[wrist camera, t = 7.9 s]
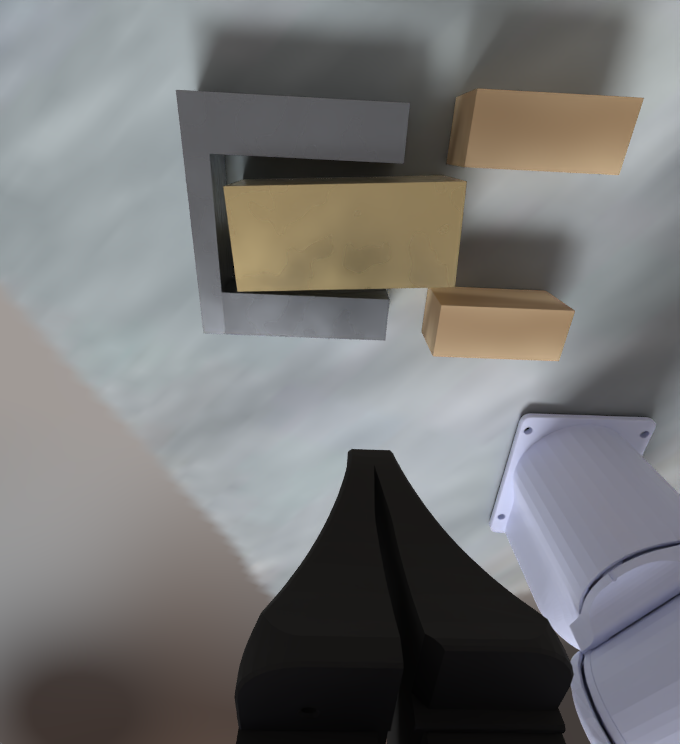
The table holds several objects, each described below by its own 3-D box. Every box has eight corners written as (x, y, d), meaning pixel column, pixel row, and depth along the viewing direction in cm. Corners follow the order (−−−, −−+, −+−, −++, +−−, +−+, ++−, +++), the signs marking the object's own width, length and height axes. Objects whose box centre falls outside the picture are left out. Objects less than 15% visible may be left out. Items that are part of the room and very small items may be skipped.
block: (434, 263, 21) (454, 286, 18) (253, 267, 21) (237, 291, 18) (442, 175, 19) (466, 181, 16) (243, 178, 19) (223, 186, 16)
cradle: (380, 321, 22) (385, 340, 20) (216, 314, 22) (203, 333, 20) (400, 108, 18) (410, 102, 16) (196, 97, 17) (175, 89, 15)
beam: (532, 335, 23) (558, 361, 20) (421, 331, 22) (432, 356, 20) (597, 105, 18) (643, 98, 15) (456, 96, 18) (477, 88, 15)
